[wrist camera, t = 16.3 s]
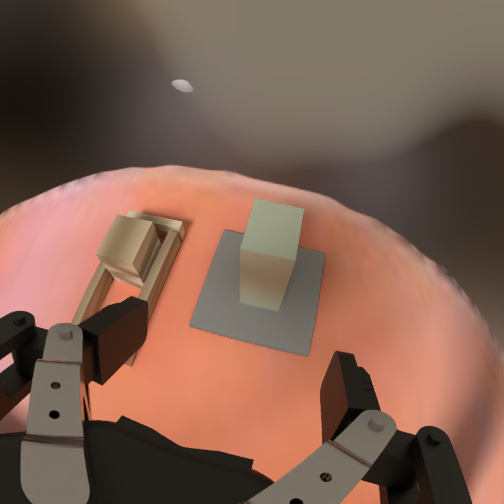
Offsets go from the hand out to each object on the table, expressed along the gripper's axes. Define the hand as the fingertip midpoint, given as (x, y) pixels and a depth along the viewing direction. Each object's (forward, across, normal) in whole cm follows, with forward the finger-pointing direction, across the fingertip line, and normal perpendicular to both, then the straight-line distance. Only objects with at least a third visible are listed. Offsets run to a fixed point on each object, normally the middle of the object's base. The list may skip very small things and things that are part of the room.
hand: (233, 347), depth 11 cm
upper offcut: (+16, +14, +3) cm, 22 cm away
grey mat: (+19, 0, +4) cm, 19 cm away
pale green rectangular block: (+19, 0, +4) cm, 19 cm away
